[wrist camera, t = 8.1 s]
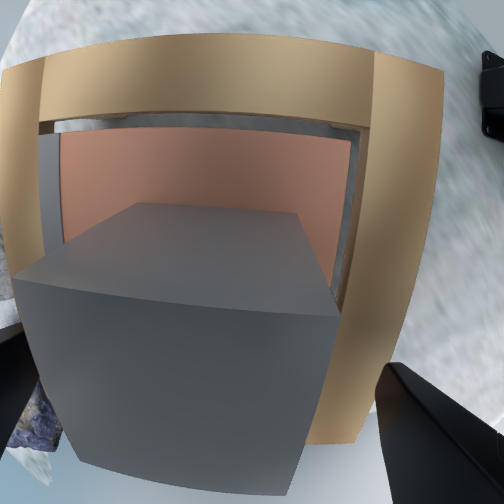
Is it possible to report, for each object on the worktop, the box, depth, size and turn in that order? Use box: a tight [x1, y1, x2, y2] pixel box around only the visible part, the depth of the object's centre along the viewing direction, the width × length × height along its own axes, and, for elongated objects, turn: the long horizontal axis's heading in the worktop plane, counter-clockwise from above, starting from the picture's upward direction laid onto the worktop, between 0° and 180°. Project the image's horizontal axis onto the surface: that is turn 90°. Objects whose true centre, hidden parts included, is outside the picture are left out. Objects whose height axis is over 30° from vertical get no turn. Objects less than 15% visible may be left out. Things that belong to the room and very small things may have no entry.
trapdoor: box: [38, 127, 351, 288], centre depth 11 cm, size 10×10×1 cm
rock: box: [6, 378, 63, 452], centre depth 19 cm, size 11×10×10 cm
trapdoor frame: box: [0, 33, 444, 444], centre depth 15 cm, size 16×16×9 cm
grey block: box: [11, 202, 341, 496], centre depth 8 cm, size 5×5×6 cm
